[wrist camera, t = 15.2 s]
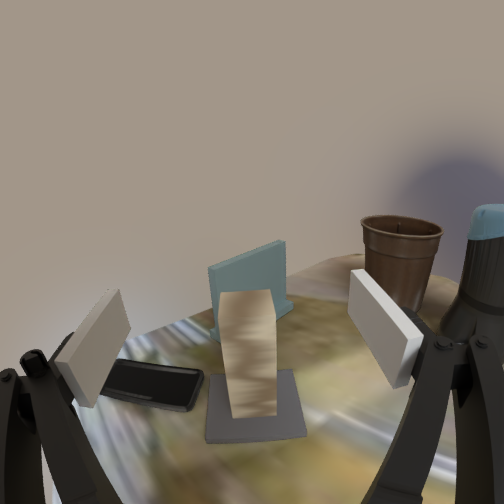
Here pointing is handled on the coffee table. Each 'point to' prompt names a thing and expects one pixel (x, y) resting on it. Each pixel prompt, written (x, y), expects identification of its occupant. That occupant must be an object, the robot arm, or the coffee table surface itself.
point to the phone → (154, 385)
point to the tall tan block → (249, 351)
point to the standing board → (251, 278)
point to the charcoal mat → (254, 428)
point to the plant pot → (400, 255)
